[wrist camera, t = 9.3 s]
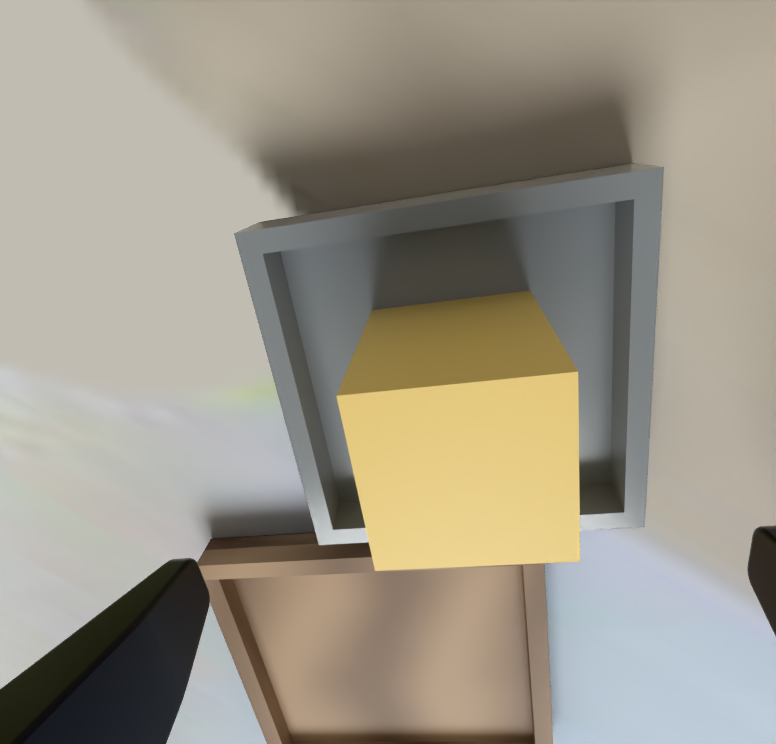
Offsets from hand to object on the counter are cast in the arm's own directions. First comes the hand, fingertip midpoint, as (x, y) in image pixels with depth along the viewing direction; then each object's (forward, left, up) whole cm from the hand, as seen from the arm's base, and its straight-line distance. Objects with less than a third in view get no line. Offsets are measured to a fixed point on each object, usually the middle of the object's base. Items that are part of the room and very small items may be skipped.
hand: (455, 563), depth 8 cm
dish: (0, 0, -8) cm, 8 cm away
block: (0, 0, -8) cm, 8 cm away
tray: (+4, +13, -8) cm, 16 cm away
